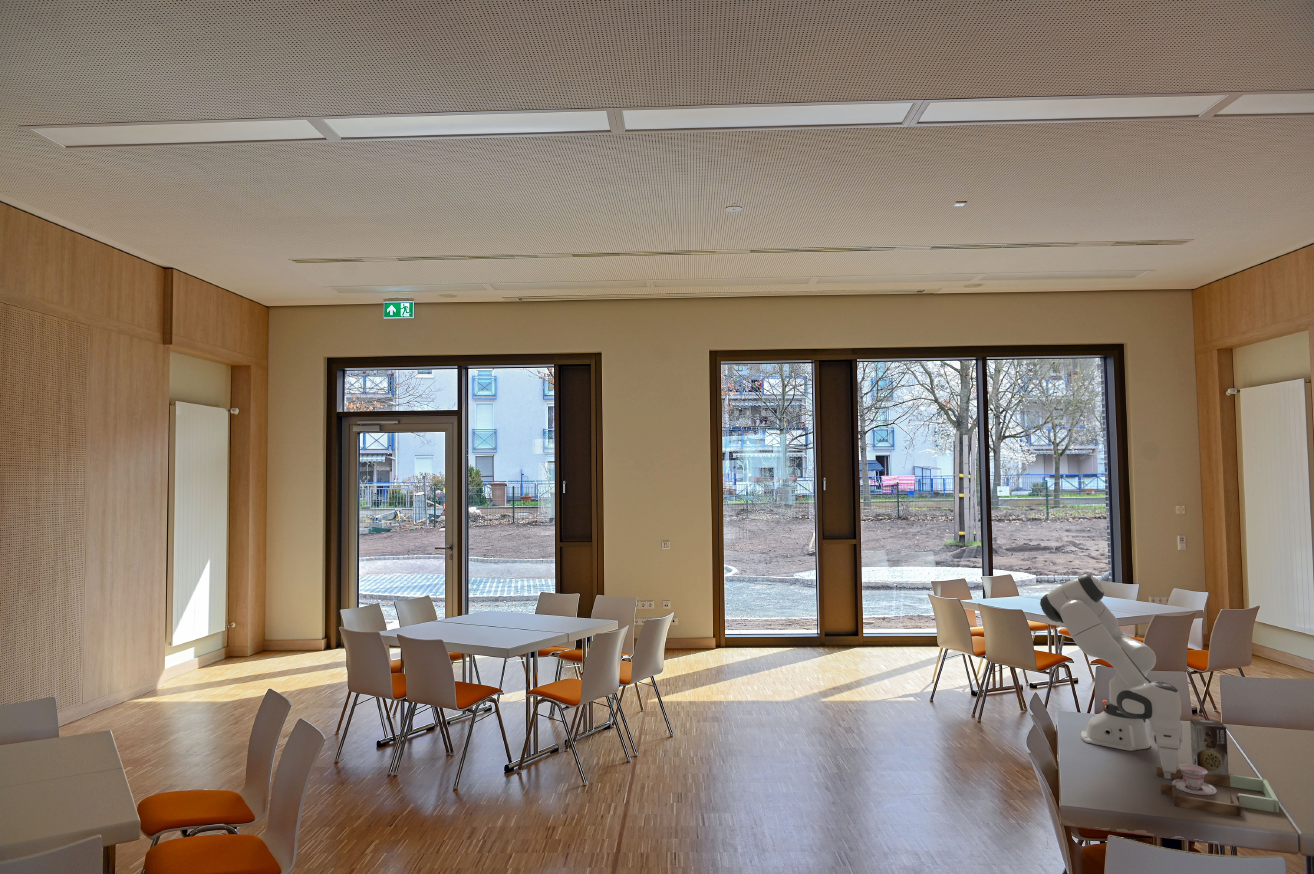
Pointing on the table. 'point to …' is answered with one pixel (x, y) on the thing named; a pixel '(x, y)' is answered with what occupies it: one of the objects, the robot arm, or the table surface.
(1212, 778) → the channel
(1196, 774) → the teacup
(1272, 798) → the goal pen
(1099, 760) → the table surface
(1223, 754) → the coffee box
